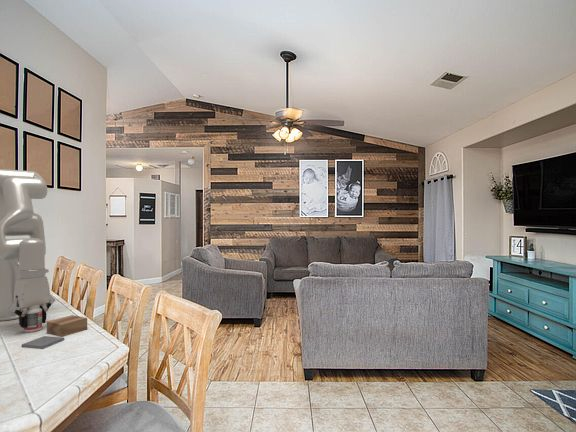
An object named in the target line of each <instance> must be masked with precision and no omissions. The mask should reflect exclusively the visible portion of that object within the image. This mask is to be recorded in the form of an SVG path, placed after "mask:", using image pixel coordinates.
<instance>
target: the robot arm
mask: <svg viewBox="0 0 576 432" xmlns="http://www.w3.org/2000/svg"><path fill="white" fill-rule="evenodd" d="M47 195H48V186H47V183H46V181H45V179H44V178H43V177H42V176H41V175H40V174H39V173H38V172H36V171H32V170H20V169H19V170H17V169H5V168H4V169H3V168H2V169H1V168H0V321H1V322H3V321H12V320H13V321H14V320H17V319H18V322H19V323H18V325H19V326H20V327H21V328H23V329H24V328H27V316H25V314H26V311H27V308H29V307H32V306H35V305H40V306H39V308H41V309H42V324H47V321H46V320H47V312H48V310H49V309H50V307H52V305H53V304H54V303H55V302H56V298H55V297H53V296H52V295H51V291H50V285H49V281H48V277H47V275H46V274H47V273H49V269H48V268H46V267H45V266H46V264H45V263H46V261H45V259H46V258H45V256H46V253H47V247H46V237H45V227H44V226H45V225H44V221H43V219H42V216H40V214H39V213H35V212H34V207H33V206H34V205H33V201H32V200H43V199H45V198H46V197H47ZM22 236H28V237H26V238H25V237H22ZM6 237H20V238H6ZM21 237H22V238H21Z"/></svg>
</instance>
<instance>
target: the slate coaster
mask: <svg viewBox="0 0 576 432" xmlns="http://www.w3.org/2000/svg"><path fill="white" fill-rule="evenodd" d="M62 341H65V337H64V336H62V337H61V336H49V335H43V336H41V337H39V338H35V339H33V340H30V341H27V342H24V343H22V344H21V348H30V349H38V350H39V349H40V350H42V349H46V348H48V347H51V346H53V345H56V344H59V343H60V342H62Z"/></svg>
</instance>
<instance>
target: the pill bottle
mask: <svg viewBox="0 0 576 432" xmlns="http://www.w3.org/2000/svg"><path fill="white" fill-rule="evenodd" d="M39 306H40V305H35V306H32V307H29V308H27V311H26V314H25V316H27V328H23V330H24V332H25V333H33V332H37V331H40V330H42V329H43V323H42V309H41V308H39Z"/></svg>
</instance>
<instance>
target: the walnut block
mask: <svg viewBox="0 0 576 432" xmlns="http://www.w3.org/2000/svg"><path fill="white" fill-rule="evenodd" d="M86 330H88V317H84V316H79V315H74V314H71V315H67V316H63V317H59V318H56V319H50V320H47V321H46V333H47V334H50V335H54V336H56V337H65V336H69V335H71V334H76V333H79V332H82V331H86Z"/></svg>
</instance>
